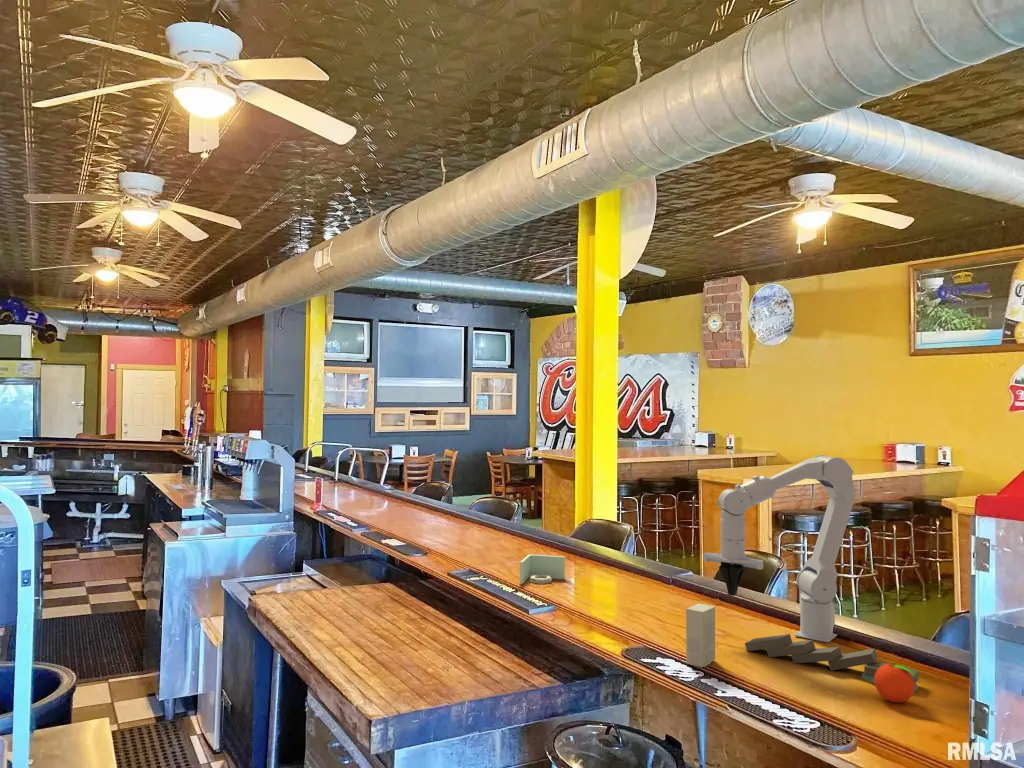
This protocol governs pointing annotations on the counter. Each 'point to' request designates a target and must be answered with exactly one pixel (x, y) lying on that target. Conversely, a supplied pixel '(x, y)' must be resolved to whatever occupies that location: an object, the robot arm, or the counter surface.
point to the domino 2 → (792, 648)
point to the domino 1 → (768, 642)
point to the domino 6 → (873, 680)
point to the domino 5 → (873, 667)
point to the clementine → (894, 682)
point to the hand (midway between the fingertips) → (732, 594)
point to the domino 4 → (854, 659)
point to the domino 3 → (818, 655)
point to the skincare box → (700, 635)
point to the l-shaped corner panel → (542, 568)
